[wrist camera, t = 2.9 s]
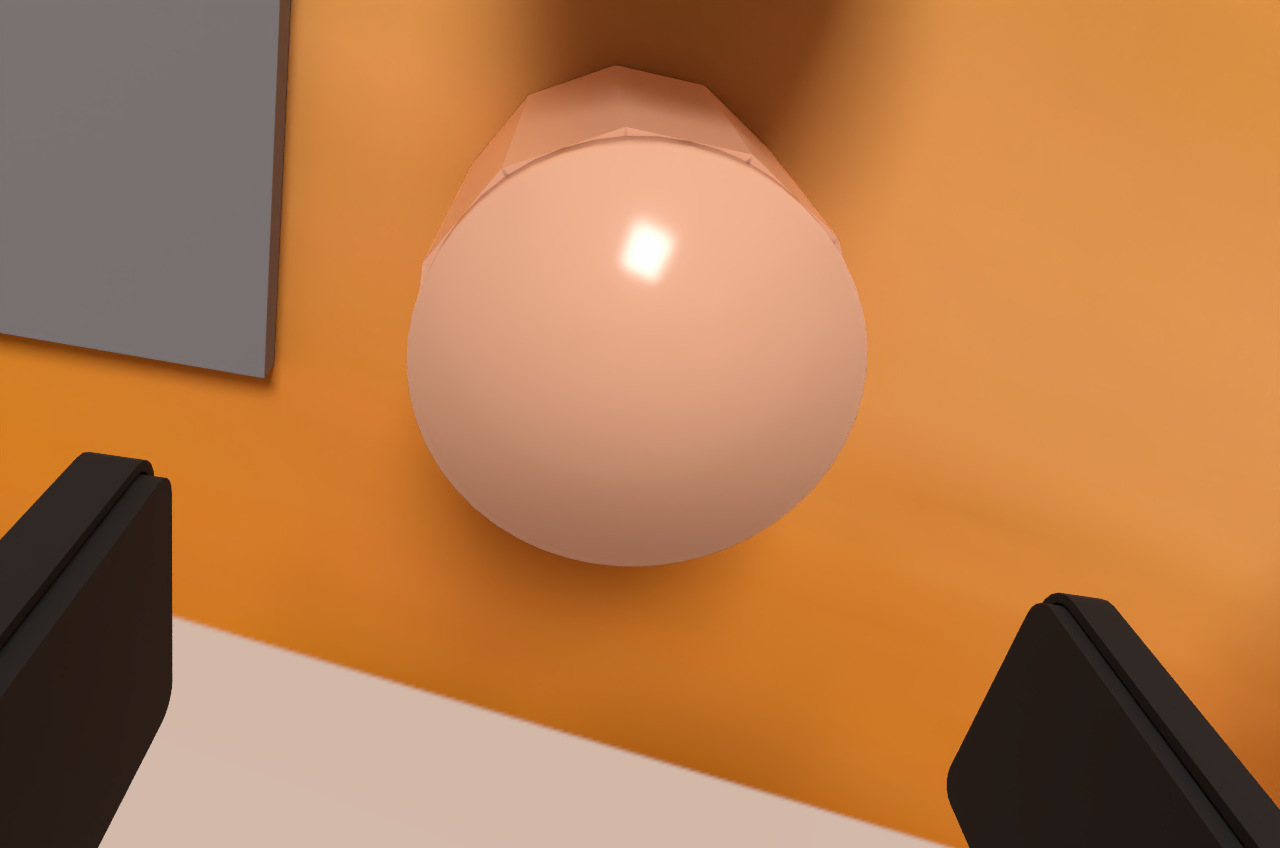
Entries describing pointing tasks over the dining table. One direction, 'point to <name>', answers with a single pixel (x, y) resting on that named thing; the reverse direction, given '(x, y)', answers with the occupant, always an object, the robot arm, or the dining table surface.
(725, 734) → the dining table surface
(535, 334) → the peach rounded capsule
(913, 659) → the dining table surface
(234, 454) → the dining table surface
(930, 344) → the dining table surface
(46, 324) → the mat
